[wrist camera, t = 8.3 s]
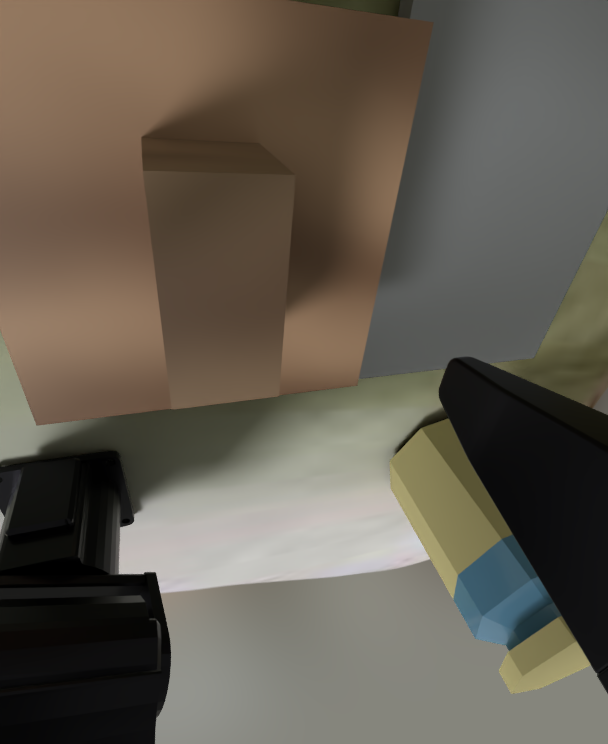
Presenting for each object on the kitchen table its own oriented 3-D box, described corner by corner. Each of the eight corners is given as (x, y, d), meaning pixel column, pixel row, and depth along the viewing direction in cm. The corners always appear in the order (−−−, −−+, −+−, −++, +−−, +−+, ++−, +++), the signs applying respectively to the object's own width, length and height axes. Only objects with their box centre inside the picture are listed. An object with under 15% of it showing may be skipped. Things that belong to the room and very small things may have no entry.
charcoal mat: (523, 349, 30) (533, 357, 29) (336, 370, 26) (343, 380, 25) (682, 15, 19) (704, 15, 18) (406, -38, 15) (421, -42, 14)
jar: (367, 493, 35) (477, 712, 24) (406, 407, 30) (571, 633, 19) (457, 483, 38) (591, 670, 27) (506, 404, 33) (696, 593, 22)
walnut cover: (346, 368, 19) (394, 444, 16) (42, 402, 16) (14, 510, 12) (411, 23, 12) (526, 18, 8) (-120, -56, 9) (-301, -120, 5)
